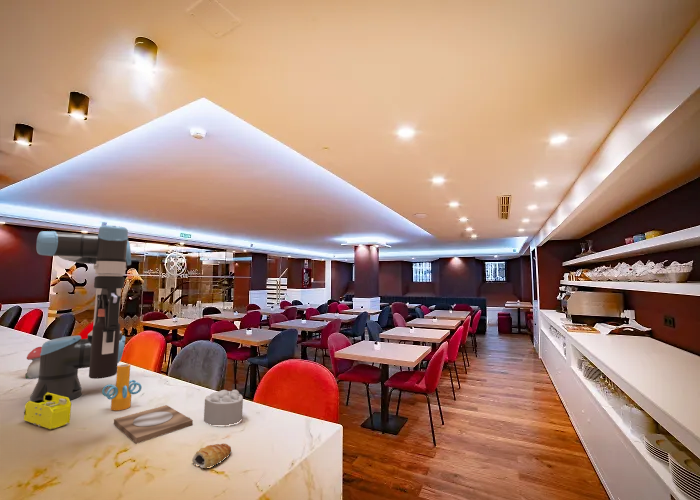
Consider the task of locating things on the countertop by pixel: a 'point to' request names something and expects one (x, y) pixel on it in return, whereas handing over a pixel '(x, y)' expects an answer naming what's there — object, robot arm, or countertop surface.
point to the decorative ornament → (34, 363)
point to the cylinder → (121, 389)
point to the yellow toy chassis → (48, 411)
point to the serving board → (152, 423)
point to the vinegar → (101, 362)
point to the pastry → (211, 455)
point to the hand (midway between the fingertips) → (104, 351)
